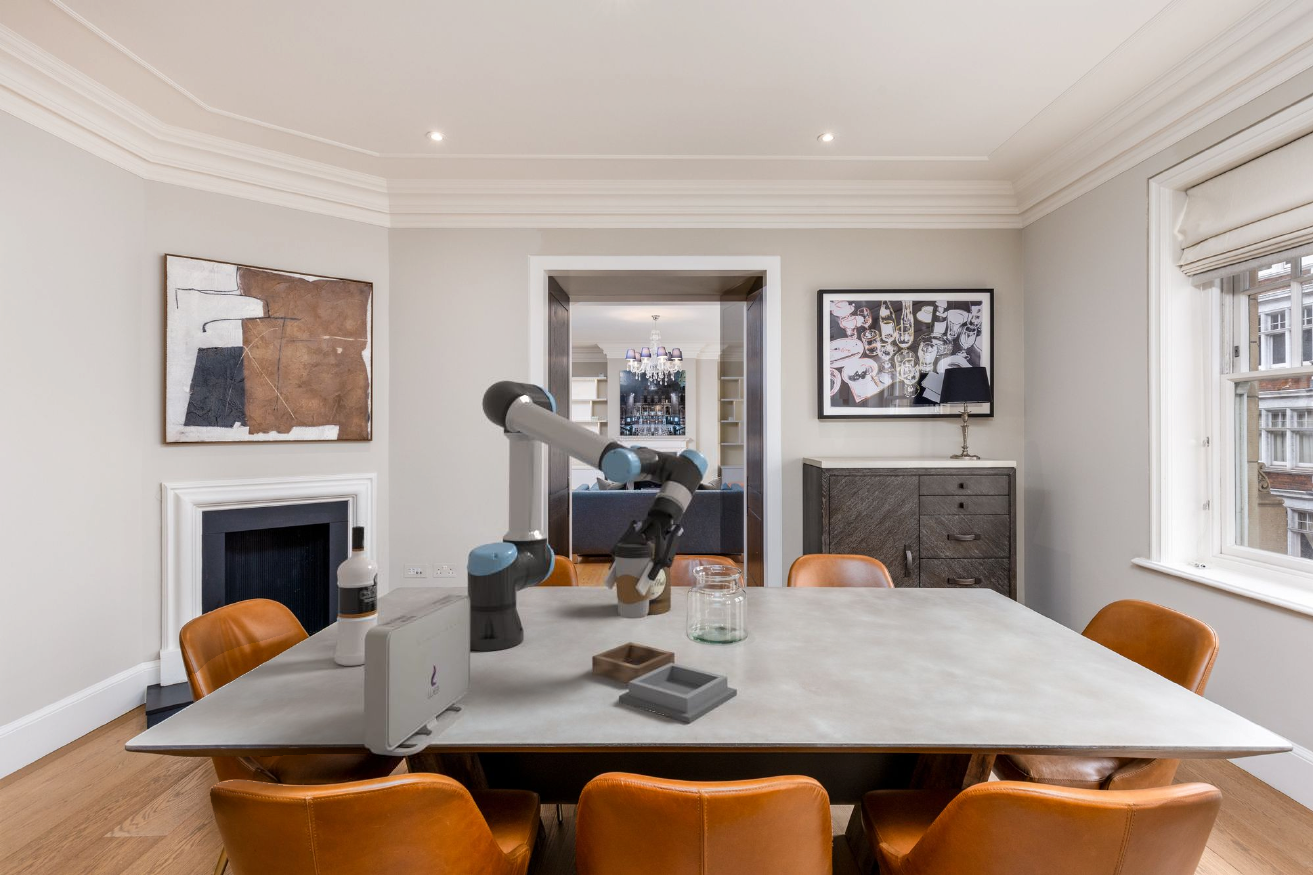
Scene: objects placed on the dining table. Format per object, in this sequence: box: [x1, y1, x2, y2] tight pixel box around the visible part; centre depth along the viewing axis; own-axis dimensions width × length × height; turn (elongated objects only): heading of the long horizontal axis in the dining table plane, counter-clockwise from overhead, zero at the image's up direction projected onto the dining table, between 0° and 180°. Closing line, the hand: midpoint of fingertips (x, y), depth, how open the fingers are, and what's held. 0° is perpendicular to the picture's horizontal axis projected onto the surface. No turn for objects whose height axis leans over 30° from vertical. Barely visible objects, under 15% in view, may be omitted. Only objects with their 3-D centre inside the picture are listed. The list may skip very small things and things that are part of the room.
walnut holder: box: [591, 641, 676, 685], centre depth 135 cm, size 12×12×4 cm
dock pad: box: [618, 663, 738, 724], centre depth 120 cm, size 16×16×4 cm
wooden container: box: [642, 534, 672, 616], centre depth 188 cm, size 15×15×22 cm
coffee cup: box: [614, 542, 653, 620], centre depth 135 cm, size 8×8×15 cm
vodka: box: [333, 525, 379, 667], centre depth 142 cm, size 9×9×30 cm
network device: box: [363, 594, 471, 757], centre depth 107 cm, size 26×9×20 cm, turn 168°
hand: (623, 588), depth 132 cm, fingers closed on coffee cup, 8 cm apart
